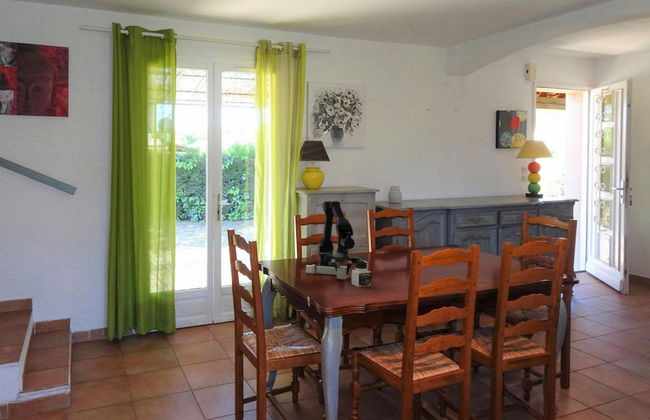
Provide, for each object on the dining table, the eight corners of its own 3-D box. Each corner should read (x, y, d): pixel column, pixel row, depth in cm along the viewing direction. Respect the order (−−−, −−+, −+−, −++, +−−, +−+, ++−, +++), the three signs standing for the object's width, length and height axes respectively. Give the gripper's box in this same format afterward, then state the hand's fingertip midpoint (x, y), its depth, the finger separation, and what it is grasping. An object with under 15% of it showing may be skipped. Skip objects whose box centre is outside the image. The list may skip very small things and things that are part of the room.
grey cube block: (340, 276, 285) (340, 265, 284) (348, 276, 283) (348, 266, 283) (336, 278, 279) (336, 268, 279) (345, 279, 278) (345, 268, 277)
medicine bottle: (358, 287, 261) (359, 263, 260) (351, 284, 267) (351, 260, 266) (371, 285, 264) (371, 261, 263) (363, 282, 271) (364, 259, 270)
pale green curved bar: (315, 273, 289) (316, 266, 289) (317, 272, 291) (317, 266, 291) (337, 275, 286) (337, 268, 285) (338, 274, 288) (338, 267, 287)
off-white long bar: (307, 272, 294) (307, 264, 293) (345, 275, 287) (345, 267, 286) (305, 272, 292) (305, 264, 291) (344, 276, 285) (344, 267, 285)
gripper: (321, 247, 275) (320, 277, 276) (356, 249, 269) (356, 280, 271) (327, 244, 285) (327, 272, 287) (361, 246, 280) (361, 275, 281)
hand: (342, 275), depth 281 cm, fingers closed on grey cube block, 5 cm apart
